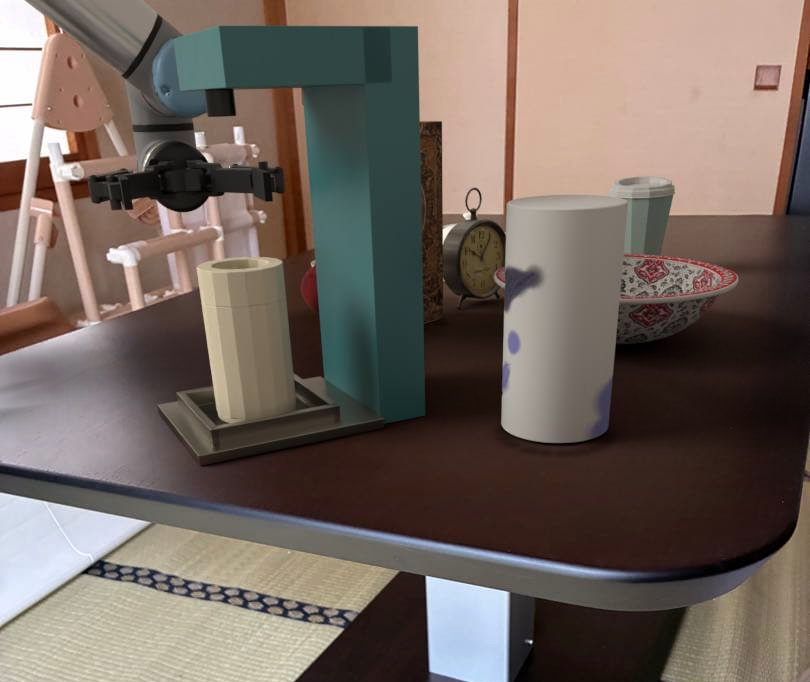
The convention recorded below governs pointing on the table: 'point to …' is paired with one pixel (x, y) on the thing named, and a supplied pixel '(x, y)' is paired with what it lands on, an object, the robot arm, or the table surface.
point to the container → (561, 315)
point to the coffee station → (332, 225)
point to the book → (432, 219)
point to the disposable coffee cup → (645, 212)
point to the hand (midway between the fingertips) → (199, 190)
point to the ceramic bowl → (662, 294)
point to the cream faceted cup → (247, 337)
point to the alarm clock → (473, 256)
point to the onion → (310, 289)
